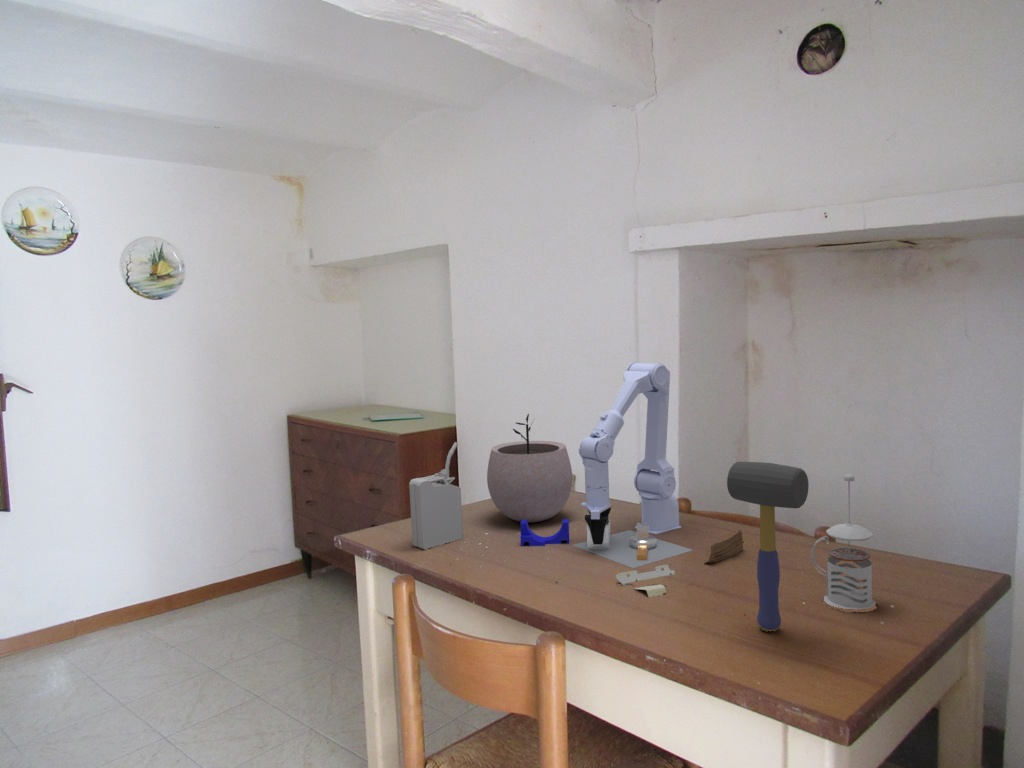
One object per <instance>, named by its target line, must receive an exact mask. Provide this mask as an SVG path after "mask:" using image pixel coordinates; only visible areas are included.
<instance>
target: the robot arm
mask: <svg viewBox="0 0 1024 768" xmlns="http://www.w3.org/2000/svg"><path fill="white" fill-rule="evenodd" d="M622 375H623V381H624V382H623V384H622V386H621V388H620V390H619V392H618V394H617V396H616V398H615V399H614V402H613V404H612V406H611V408H610V410H605V411H604V412H603V413H601V415H600V416H599V420H598V421H597V423H596V424H595V426H594V428H593V430H592V431H591V433H590V434H589V436H586V437H584V439H582V441H581V442H580V445H579V448H578V454H579V456H580V458H581V459H582V465H583V467H584V483H585V485H584V486H585V501H584V502H581V504H580V507H582V508H585V509H586V510H587V511H588V513H589V514H585V515H584V520H585V522H586V525H587V524H588V526H589V529H590V532H591V536H592V541H593V544H601V545H602V543H603V538H604V529H605V525H606V522H607V520H608V519H610V518H609V517H610V516H609V515H610V513H611V511H612V507H611V502H610V479H609V460H610V459H611V458H612V456H613V454H614V445H615V440H616V438H618V437H617V436H618V435H619V433H620V432H621V431H622V428H623V426H624V424H625V421H624V416H625V414H626V413H627V411H629V408H630V407H631V406H632V404H633V403H634V401H635V399H636V398H637V397H638V396H639V394H643V395H644V397H645V398H646V399H647V405H646V407H647V411H646V427H645V444H644V445H645V448H644V459H643V460H641V461H640V462H639V463H638V464H637V467H636V473H635V475H634V479H633V484H634V488H635V490H636V491H637V492H638V495H639V496H640V497H641V498H640V501H641V504H640V505H641V523H649V534H654V535H658V534H662V533H666V532H669V531H673V530H677V529H680V528H682V526H681V525H680V513H679V511H680V508H679V501H678V499H677V497H676V496H675V495H674V493H675V490H676V486H677V481H676V478H675V468H674V467H673V466H672V465H671V464H670V462H669V461H668V460H667V459H666V458H667V443H668V442H667V440H668V423H669V422H668V420H669V405H670V404H669V403H670V383H671V382H670V381H671V371H670V370H669V368H668V367H667V366H666V365H665V364H664V363H662V362H658V363H657V362H655V363H654V362H653V363H651V362H636V361H634V362H631V363H629V364H628V365H627V367H626V370H625V372H624V373H623V374H622ZM634 529H637V525H636V526H635V527H634Z"/></svg>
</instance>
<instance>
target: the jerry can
mask: <svg viewBox="0 0 1024 768" xmlns="http://www.w3.org/2000/svg"><path fill="white" fill-rule="evenodd" d="M458 445H459V443H458V442H456V441H454V443H453V445H452V447H451V448H450V449H449V451H448V454H447V456H446V460H445V468H444V469H440V471H439V472H436V473H434V474H433V475H427V476H425V477H423V476H422V477H416V478H412V479H410V481H409V483H408V484H409V485H408V486H409V487H408V488H409V499H410V500H409V503H410V505H409V506H410V520H411V537H412V546H414V547H416V548H419V549H422V550H426V551H427V550H429V549H428V548H430V549H432V548H431V547H433V548H435V547H434V546H437V547H439V546H438V545H440V546H442V545H441V544H443V545H446V544H445V543H447V544H450V543H452V541H454V542H456V541H455V540H457V541H459V540H458V539H461V540H462V539H463V538H464V526H463V507H462V488H461V487H460V486H457V485H454V484H451V483H453V481H454V480H456V477H455V476H451V477H450V465H451V458H452V456H453V455H454V453H455V451H456V449H457V447H458ZM449 542H450V543H449Z"/></svg>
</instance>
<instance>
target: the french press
mask: <svg viewBox="0 0 1024 768" xmlns="http://www.w3.org/2000/svg"><path fill="white" fill-rule="evenodd" d="M843 481H844V482H848V486H847V487H848V488H847V489H848V494H847V495H848V496H847V498H848V501H847V502H848V504H847V505H848V512H847V513H848V515H847V517H848V523H839V524H835V525H833V526H831V527H829V528H827V529H826V534H827V535H824V536H821V537H819V538H818V539H817V540H815V543H814V544H813V545H812V548H811V551H810V556H811V557H810V558H811V559H810V560H811V564H812V565H813V567H814V569H815V570H816V571H817V572H818V573H819V574H822V576H824V577H825V579H826V580H825V581H826V583H825V584H826V586H825V587H826V594H825V595H824V596H823V597H824V601H825V602H826V603H827V604H829V605H831V606H834V607H837V608H838V607H839V608H843V609H855V610H858V609H860V610H861V609H868V608H871V607H873V606H874V605H875V602H876V600H874V599H873V598H872V597H873V588H872V587H873V584H872V583H873V582H872V581H873V579H872V578H873V574H872V573H873V572H872V571H873V570H872V569H873V568H872V567H873V564H872V561H871V560H869V559H870V558H871V554H870V553H868V552H867V551H865V550H862V549H859V548H854V547H851V542H864V541H869V540H871V539H872V538H873V537H874V535H873V532H871V531H870V530H868V529H867V528H865V527H863V526H860V525H858V524H853V523H851V520H850V519H851V518H850V517H851V515H850V512H851V511H850V510H851V505H850V500H851V499H850V492H851V490H850V489H851V488H850V486H851V485H850V482H855V476H854V475H853V474H851V473H850V474H849V473H847V474H845V475H844V476H843ZM828 536H829V537H828ZM830 537H831V538H833V539H837V540H842V541H848V547H845V546H844V547H834V548H832V549H830V550H829V551H828V553H829V554H828V555H829V557H828V558H827V571H826V570H824V569H823V568H822V567H820V566H819V565H818V563H817V561H816V558H815V548H816V545H817V544H819V542H822V541H824V540H825V545H826V546H828V545H829V543H830ZM841 561H842V562H843V563H839V562H841ZM844 562H845V563H844ZM848 562H853V563H855V564H856V565H857V566H859V567H857V566H856V565H855V564H852V563H848ZM837 563H839V564H837ZM836 564H837V565H836ZM821 571H822V572H821ZM823 572H824V573H823ZM841 574H842V575H841ZM843 574H845V575H843ZM841 581H843V582H841ZM861 581H862V582H861ZM860 587H861V588H863V589H861V588H860Z"/></svg>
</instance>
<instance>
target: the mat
mask: <svg viewBox="0 0 1024 768" xmlns="http://www.w3.org/2000/svg"><path fill="white" fill-rule="evenodd" d="M635 535H637V531H634V530H631V529H629V530H625V531H621V532H617V533H614V534H610V537H611V544H610V548H609V550H607V549H587V540H586V541H583V542H578V543H574V544H572V546H573V547H576V548H579V549H581V550H584V551H587V552H589V553H591V554H594V555H597V556H600V557H602V558H605V559H608V560H610V561H612V562H616V563H618V564H621V565H623V566H626V567H628V568H631V569H635V568H639V567H642V566H646V565H648V564H653V563H655V562H659V561H663V560H665V559H669V558H672V557H675V556H679V555H683V554H686V553H688V552H689V553H690V552H692V551H694V550H693V549H690V548H688V547H685V546H681V545H679V544H675V543H672V542H669V541H665V540H662V539H659V538H656V539H657V547H656V548H654V549H651V550H648V551H647V560H637V549H633V548H631V547H630V537H632V536H635Z"/></svg>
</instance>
